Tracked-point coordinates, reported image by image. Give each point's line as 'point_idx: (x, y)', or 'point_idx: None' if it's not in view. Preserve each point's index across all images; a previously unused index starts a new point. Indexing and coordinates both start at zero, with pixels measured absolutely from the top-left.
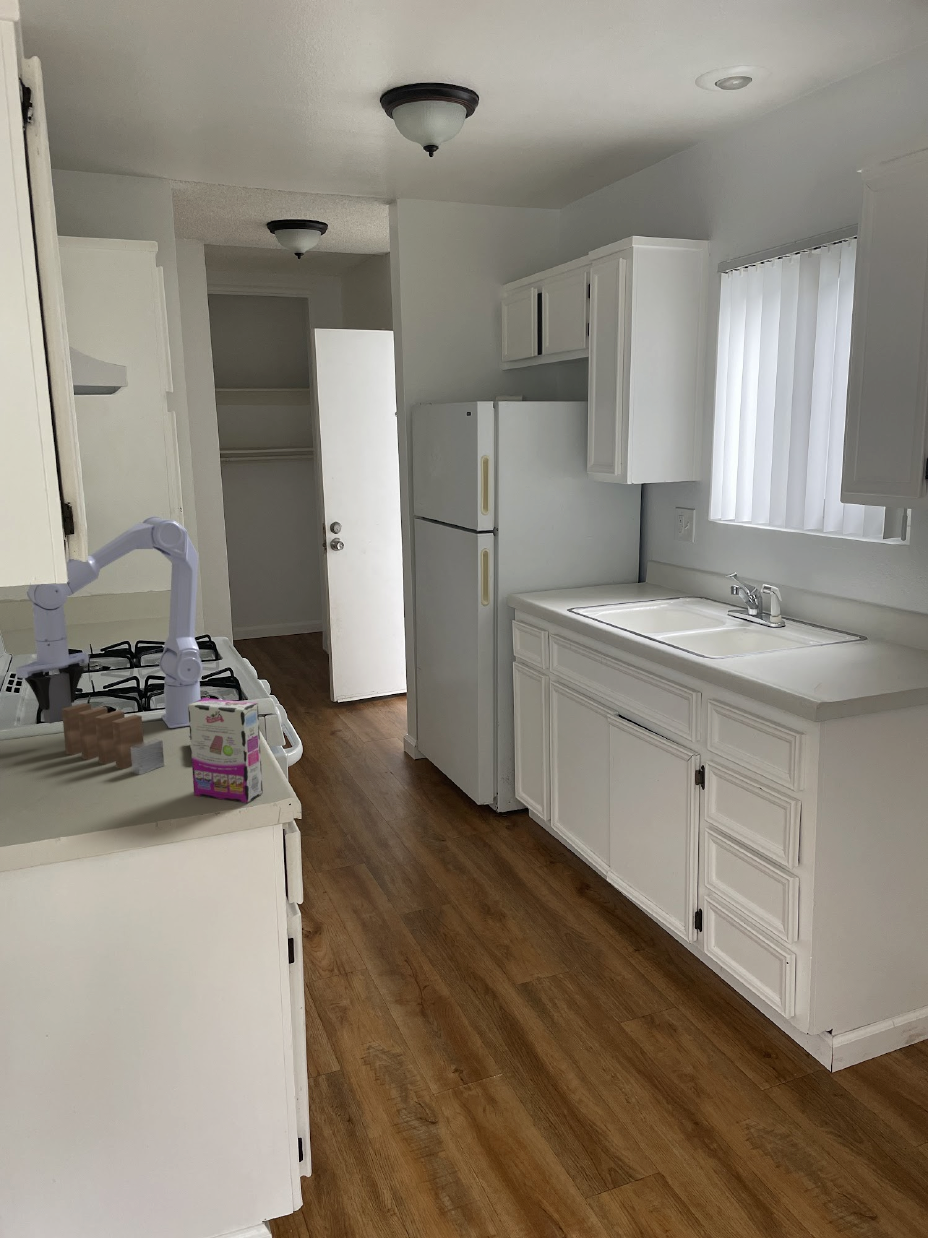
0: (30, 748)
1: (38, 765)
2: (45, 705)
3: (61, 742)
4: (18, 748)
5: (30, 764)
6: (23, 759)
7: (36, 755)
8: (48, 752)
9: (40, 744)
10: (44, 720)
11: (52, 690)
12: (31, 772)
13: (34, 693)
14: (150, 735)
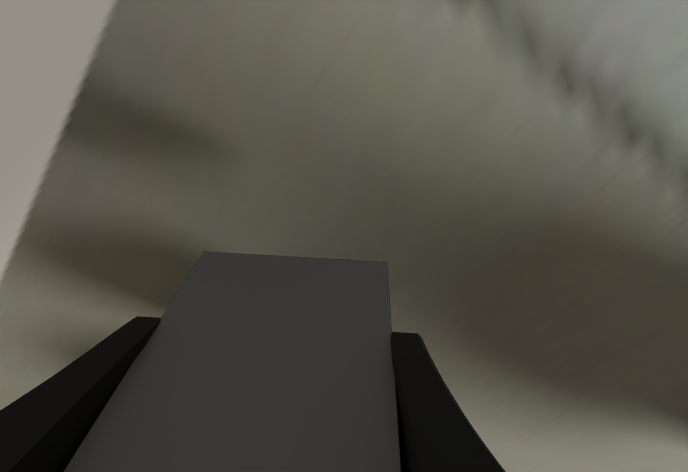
0: (194, 103)
1: (106, 328)
2: None
3: (349, 168)
4: (151, 38)
5: (88, 294)
6: (93, 218)
7: (160, 224)
8: (218, 237)
9: (266, 93)
10: (201, 259)
11: None
12: (54, 362)
13: (4, 412)
14: (599, 422)
